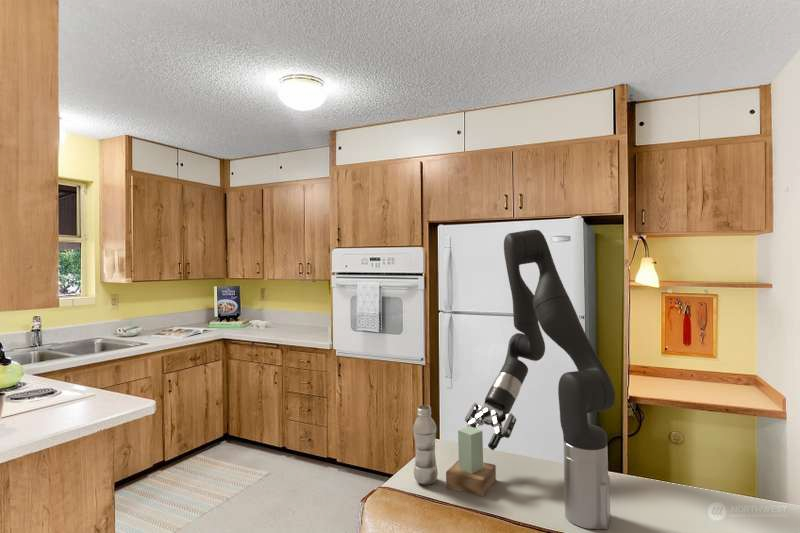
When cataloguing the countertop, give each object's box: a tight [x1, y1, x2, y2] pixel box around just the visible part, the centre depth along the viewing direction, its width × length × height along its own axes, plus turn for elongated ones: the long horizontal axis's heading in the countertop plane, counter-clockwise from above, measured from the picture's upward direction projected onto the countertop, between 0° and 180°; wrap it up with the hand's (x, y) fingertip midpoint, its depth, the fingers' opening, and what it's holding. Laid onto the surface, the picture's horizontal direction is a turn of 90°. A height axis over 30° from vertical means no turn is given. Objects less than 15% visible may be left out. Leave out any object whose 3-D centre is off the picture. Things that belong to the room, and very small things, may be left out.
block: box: [457, 426, 484, 474], centre depth 120 cm, size 4×4×10 cm
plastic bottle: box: [412, 405, 439, 485], centre depth 121 cm, size 6×7×20 cm
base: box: [445, 459, 497, 497], centre depth 119 cm, size 10×10×4 cm
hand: (478, 443), depth 122 cm, fingers open, 8 cm apart
